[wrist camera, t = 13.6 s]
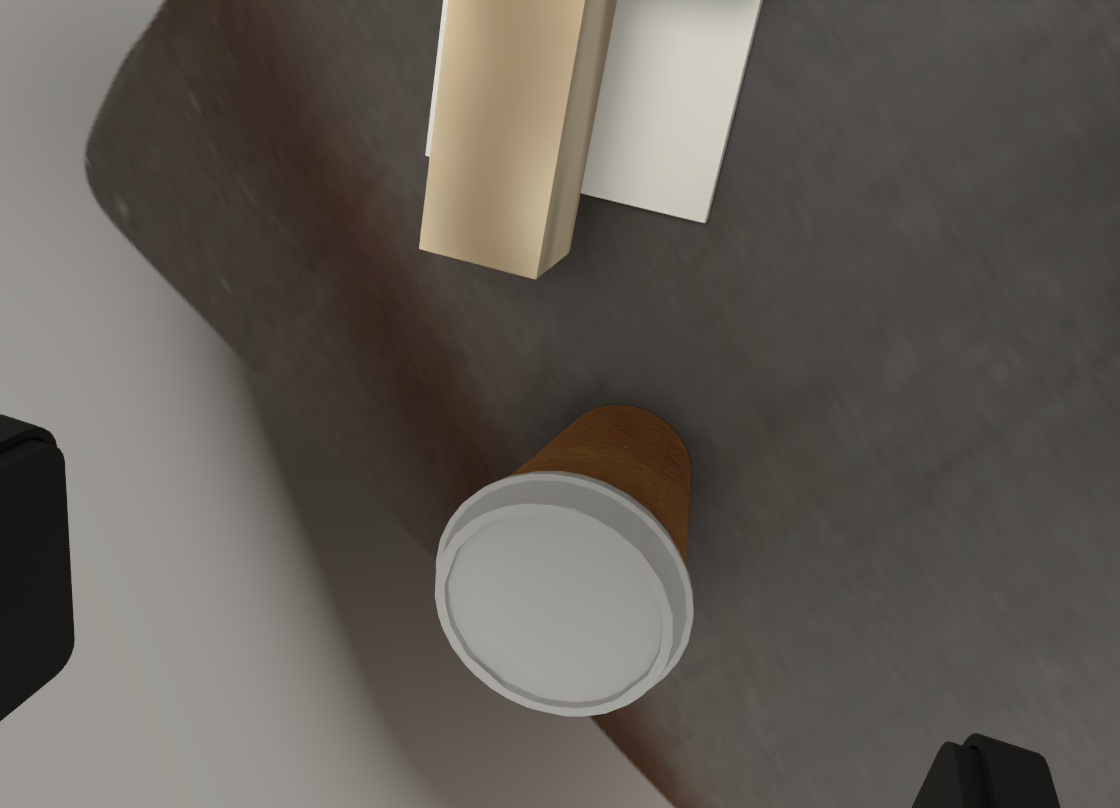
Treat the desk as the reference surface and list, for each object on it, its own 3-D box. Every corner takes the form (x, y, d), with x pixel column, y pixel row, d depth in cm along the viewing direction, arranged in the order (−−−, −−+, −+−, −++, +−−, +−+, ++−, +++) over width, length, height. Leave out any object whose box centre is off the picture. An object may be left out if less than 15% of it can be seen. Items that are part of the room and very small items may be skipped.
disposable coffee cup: (761, 422, 39) (733, 566, 29) (680, 588, 44) (628, 769, 33) (562, 336, 41) (462, 444, 30) (500, 506, 45) (394, 654, 34)
